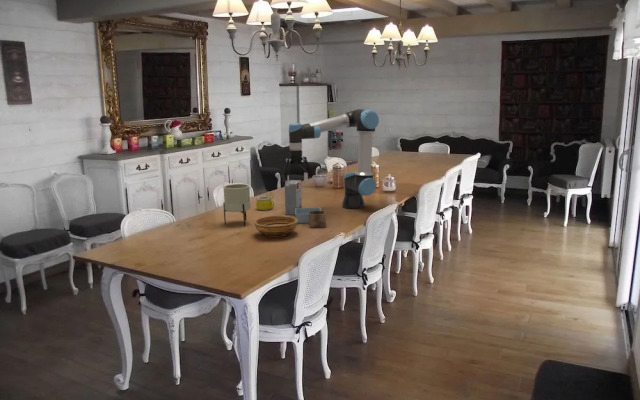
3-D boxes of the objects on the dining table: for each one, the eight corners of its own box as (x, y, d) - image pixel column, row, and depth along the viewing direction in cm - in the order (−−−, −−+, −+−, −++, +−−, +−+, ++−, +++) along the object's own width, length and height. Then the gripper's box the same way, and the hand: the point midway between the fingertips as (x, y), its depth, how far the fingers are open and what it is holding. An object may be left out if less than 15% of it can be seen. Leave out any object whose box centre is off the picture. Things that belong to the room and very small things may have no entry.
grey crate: (320, 216, 335) (320, 207, 334) (321, 222, 320) (321, 213, 319) (295, 217, 335) (295, 208, 333) (295, 223, 319) (295, 214, 318)
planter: (256, 221, 328) (254, 184, 323) (242, 227, 314) (240, 189, 309) (235, 219, 334) (233, 183, 329) (220, 225, 320) (218, 187, 315)
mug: (253, 210, 357) (252, 192, 354) (261, 207, 367) (260, 189, 364) (270, 211, 352) (269, 193, 350) (277, 208, 362) (277, 190, 360)
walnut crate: (324, 223, 318) (324, 210, 317) (325, 227, 310) (325, 214, 308) (309, 224, 318) (309, 211, 316) (309, 228, 309) (309, 214, 308)
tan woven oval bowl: (279, 244, 280) (279, 229, 278) (242, 238, 291) (241, 224, 290) (308, 230, 305) (308, 216, 303) (273, 225, 316) (273, 212, 315)
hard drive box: (296, 215, 341) (295, 184, 337) (285, 214, 343) (283, 184, 339) (302, 209, 356) (301, 180, 352) (291, 209, 358) (290, 179, 353)
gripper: (309, 147, 330) (309, 181, 334) (274, 150, 316) (276, 186, 320) (316, 148, 324) (317, 182, 329) (281, 151, 310) (282, 188, 314)
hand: (296, 184), depth 324 cm, fingers open, 13 cm apart
